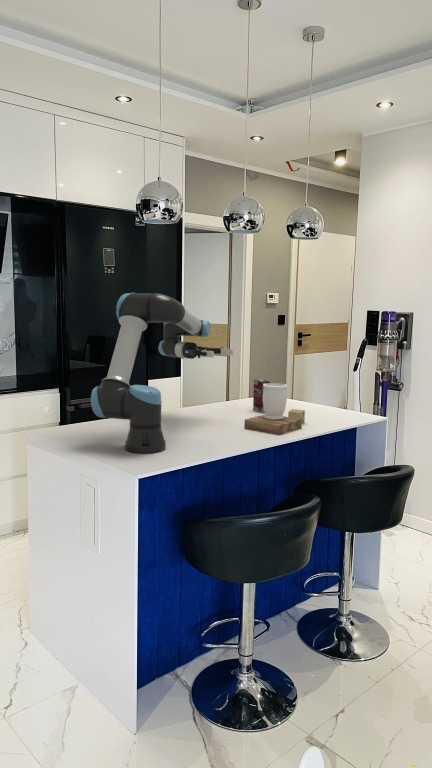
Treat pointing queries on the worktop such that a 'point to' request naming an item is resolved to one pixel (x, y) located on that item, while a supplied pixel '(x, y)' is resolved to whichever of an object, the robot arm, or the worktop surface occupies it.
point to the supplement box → (258, 395)
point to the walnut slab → (273, 424)
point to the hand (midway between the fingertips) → (223, 353)
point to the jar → (274, 400)
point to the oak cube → (297, 414)
